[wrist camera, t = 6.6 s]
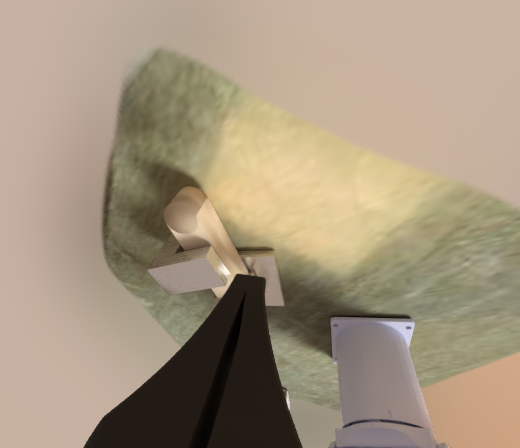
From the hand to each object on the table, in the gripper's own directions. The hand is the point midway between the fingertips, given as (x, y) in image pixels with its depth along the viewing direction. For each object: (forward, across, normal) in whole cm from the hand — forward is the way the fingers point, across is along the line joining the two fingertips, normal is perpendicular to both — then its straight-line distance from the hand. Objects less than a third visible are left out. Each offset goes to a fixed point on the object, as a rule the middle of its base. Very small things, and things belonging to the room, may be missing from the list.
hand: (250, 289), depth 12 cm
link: (+8, +4, +6) cm, 11 cm away
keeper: (+9, +6, +5) cm, 12 cm away
